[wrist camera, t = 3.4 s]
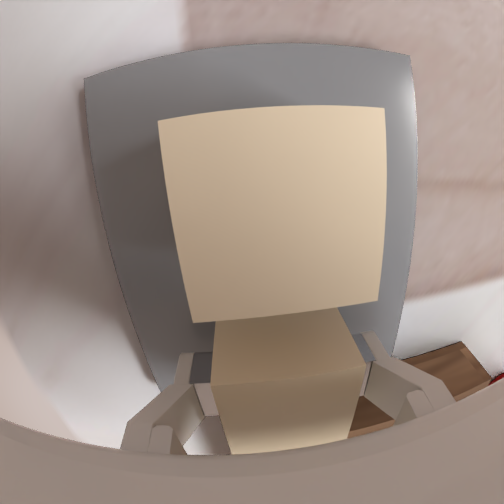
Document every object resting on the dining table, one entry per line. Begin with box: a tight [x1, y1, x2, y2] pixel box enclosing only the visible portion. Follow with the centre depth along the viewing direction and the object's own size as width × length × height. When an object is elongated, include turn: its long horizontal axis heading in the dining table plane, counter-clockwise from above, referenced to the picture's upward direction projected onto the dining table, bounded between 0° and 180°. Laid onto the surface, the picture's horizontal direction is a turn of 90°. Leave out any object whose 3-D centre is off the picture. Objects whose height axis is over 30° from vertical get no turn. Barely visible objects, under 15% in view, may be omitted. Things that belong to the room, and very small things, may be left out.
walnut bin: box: [347, 341, 492, 439], centre depth 15 cm, size 13×13×4 cm
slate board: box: [84, 43, 418, 392], centre depth 10 cm, size 14×11×1 cm
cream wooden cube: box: [158, 105, 387, 323], centre depth 7 cm, size 4×4×4 cm
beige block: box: [210, 307, 366, 455], centre depth 9 cm, size 4×4×4 cm
